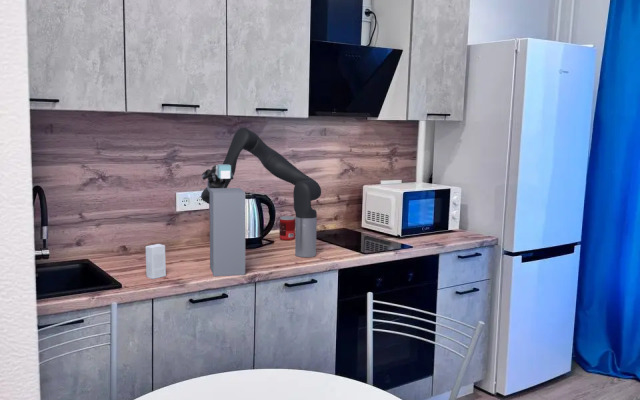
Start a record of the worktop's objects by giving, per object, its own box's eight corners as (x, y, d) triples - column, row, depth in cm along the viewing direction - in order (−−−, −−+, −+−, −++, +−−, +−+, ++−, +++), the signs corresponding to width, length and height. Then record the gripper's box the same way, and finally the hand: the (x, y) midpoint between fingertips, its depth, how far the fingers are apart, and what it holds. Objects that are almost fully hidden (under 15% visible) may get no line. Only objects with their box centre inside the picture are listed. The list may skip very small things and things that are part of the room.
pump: (213, 173, 256) (213, 161, 256) (223, 172, 258) (223, 161, 257) (219, 178, 235) (219, 166, 235) (231, 178, 237) (231, 165, 236)
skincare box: (159, 274, 229) (158, 243, 228) (166, 276, 227) (165, 245, 225) (145, 277, 225) (145, 246, 223) (152, 279, 222) (151, 247, 220)
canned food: (296, 238, 302) (297, 216, 301) (292, 241, 295) (292, 219, 293) (282, 237, 304) (282, 215, 302) (277, 240, 296) (277, 218, 295)
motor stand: (209, 267, 241) (209, 188, 236) (239, 266, 244) (239, 187, 240) (213, 276, 227) (213, 192, 223) (245, 274, 231) (245, 192, 226)
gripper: (199, 175, 266) (202, 159, 251) (231, 175, 270) (236, 159, 255) (200, 191, 263) (203, 175, 248) (232, 191, 267) (237, 175, 252)
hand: (220, 167), depth 251 cm, fingers closed on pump, 3 cm apart
